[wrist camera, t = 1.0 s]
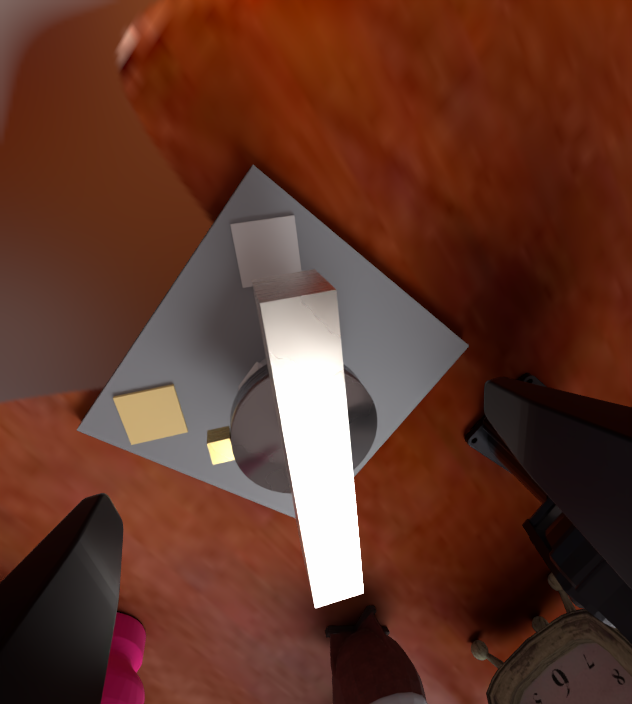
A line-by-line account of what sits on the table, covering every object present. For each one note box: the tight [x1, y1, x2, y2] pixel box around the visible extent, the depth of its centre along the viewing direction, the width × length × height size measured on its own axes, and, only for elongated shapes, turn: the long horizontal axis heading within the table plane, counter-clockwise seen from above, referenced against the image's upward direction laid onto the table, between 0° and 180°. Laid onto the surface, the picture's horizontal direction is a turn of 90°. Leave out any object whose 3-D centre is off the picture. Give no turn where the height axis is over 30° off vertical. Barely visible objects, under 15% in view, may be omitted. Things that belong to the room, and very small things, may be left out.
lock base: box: [77, 165, 469, 518], centre depth 21 cm, size 16×16×4 cm
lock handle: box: [207, 269, 377, 608], centre depth 17 cm, size 15×8×5 cm, turn 6°
